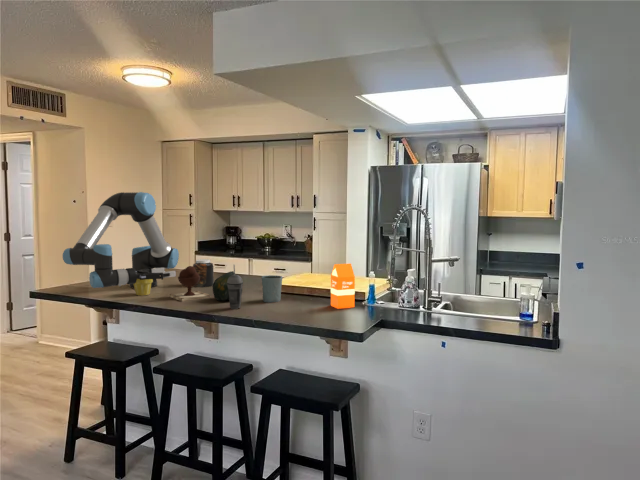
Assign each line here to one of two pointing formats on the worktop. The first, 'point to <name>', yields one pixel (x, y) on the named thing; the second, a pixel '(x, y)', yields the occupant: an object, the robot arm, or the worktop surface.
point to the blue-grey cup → (271, 288)
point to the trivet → (186, 298)
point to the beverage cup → (235, 290)
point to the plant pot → (143, 287)
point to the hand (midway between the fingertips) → (169, 271)
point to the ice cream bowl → (189, 279)
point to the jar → (204, 272)
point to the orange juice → (342, 286)
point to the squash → (222, 287)
